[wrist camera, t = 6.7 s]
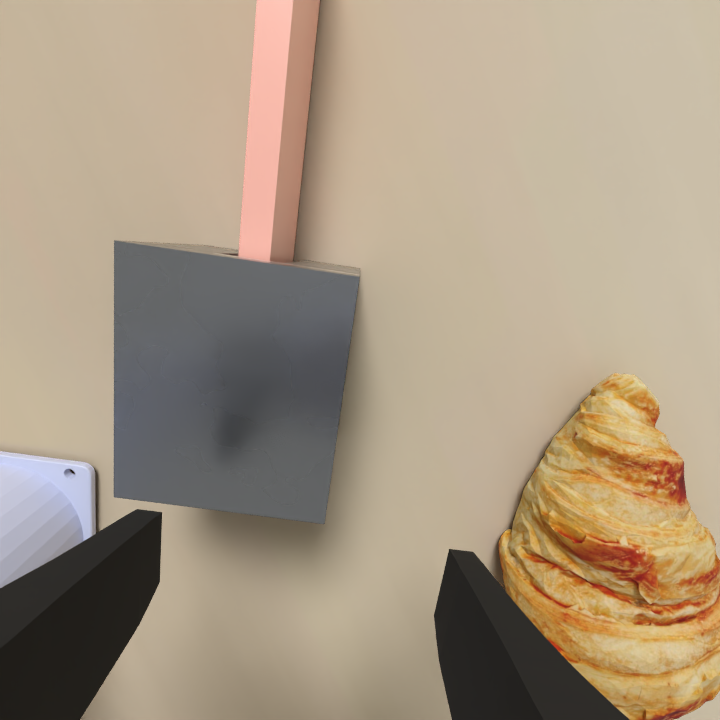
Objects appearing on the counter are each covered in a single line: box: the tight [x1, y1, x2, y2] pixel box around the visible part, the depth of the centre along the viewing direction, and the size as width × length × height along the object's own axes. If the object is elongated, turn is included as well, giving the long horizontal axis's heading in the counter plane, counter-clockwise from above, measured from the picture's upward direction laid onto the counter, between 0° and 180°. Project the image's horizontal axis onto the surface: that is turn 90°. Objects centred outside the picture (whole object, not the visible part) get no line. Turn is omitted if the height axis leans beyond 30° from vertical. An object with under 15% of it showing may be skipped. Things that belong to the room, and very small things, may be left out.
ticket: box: [238, 0, 320, 263], centre depth 14 cm, size 1×13×5 cm, turn 172°
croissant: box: [499, 373, 720, 720], centre depth 20 cm, size 21×10×8 cm, turn 5°
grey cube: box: [114, 240, 360, 524], centre depth 16 cm, size 7×8×7 cm
